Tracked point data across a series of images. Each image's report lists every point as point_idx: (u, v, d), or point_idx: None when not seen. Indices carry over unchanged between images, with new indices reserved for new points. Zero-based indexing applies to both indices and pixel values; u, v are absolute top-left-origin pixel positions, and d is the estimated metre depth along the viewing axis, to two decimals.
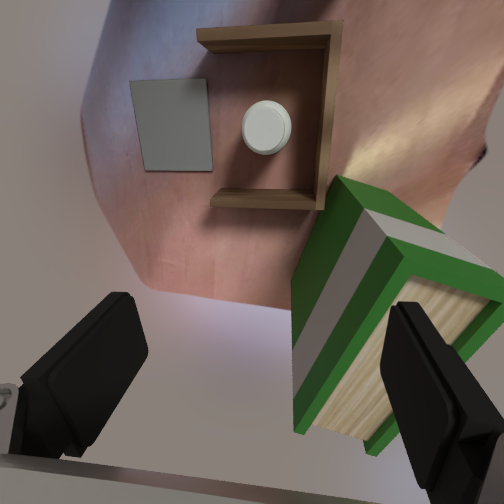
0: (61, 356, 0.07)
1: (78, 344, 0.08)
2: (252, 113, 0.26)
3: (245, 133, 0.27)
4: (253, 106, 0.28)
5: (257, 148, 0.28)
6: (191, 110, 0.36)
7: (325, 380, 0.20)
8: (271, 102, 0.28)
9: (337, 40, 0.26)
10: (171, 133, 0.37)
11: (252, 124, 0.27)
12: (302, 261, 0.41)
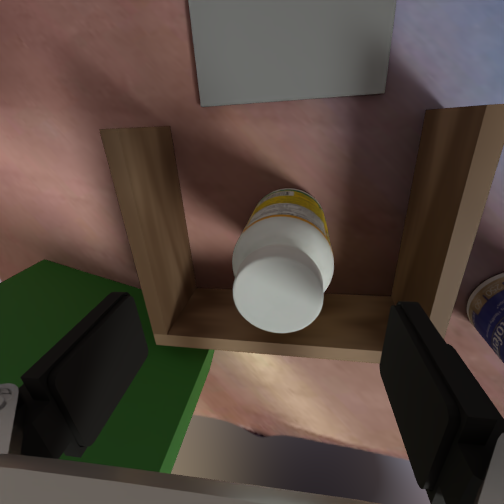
0: (61, 356, 0.07)
1: (78, 344, 0.08)
2: (311, 277, 0.11)
3: (268, 260, 0.11)
4: (324, 248, 0.13)
5: (237, 284, 0.12)
6: (324, 52, 0.15)
7: None
8: (329, 281, 0.14)
9: None
10: None
11: (289, 277, 0.11)
12: (77, 286, 0.24)
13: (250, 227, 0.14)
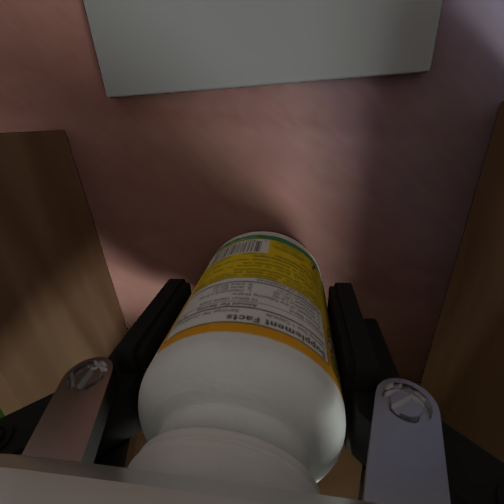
0: (144, 332, 0.08)
1: (155, 323, 0.08)
2: None
3: None
4: (327, 408, 0.06)
5: None
6: None
7: None
8: (336, 458, 0.07)
9: None
10: None
11: None
12: None
13: (167, 351, 0.06)
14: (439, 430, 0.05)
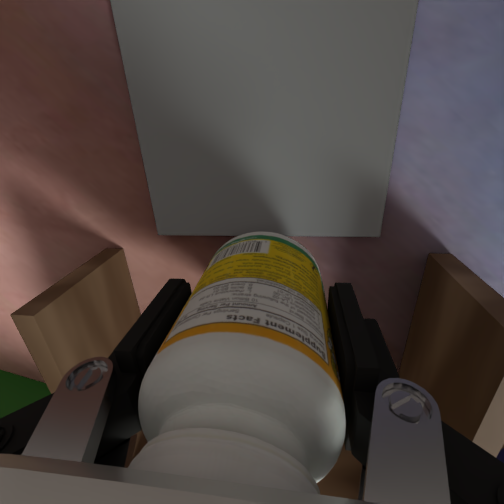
0: (144, 332, 0.08)
1: (155, 323, 0.08)
2: None
3: None
4: (327, 408, 0.06)
5: None
6: (306, 190, 0.12)
7: None
8: (336, 459, 0.07)
9: None
10: (244, 116, 0.12)
11: None
12: (22, 407, 0.20)
13: (167, 352, 0.06)
14: (439, 430, 0.05)
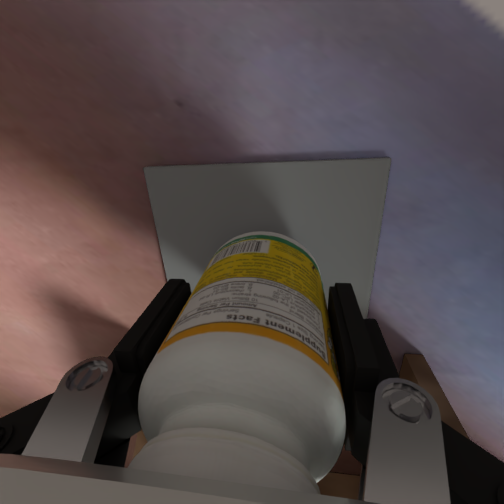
0: (144, 332, 0.08)
1: (155, 323, 0.08)
2: None
3: None
4: (327, 408, 0.06)
5: None
6: None
7: None
8: (336, 458, 0.07)
9: None
10: None
11: None
12: None
13: (167, 351, 0.06)
14: (439, 430, 0.05)
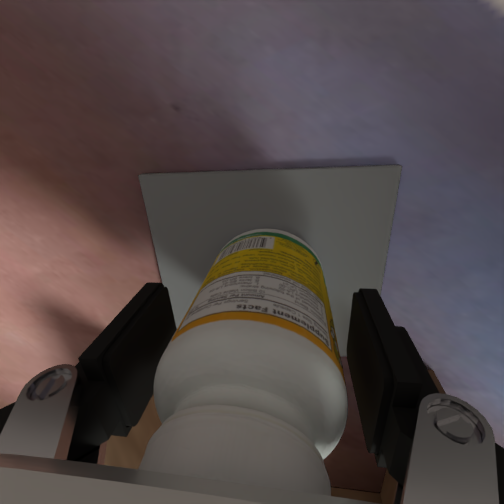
0: (112, 339, 0.08)
1: (125, 329, 0.08)
2: None
3: None
4: (331, 390, 0.06)
5: None
6: None
7: None
8: (339, 438, 0.07)
9: None
10: None
11: None
12: None
13: (181, 338, 0.07)
14: (492, 456, 0.05)
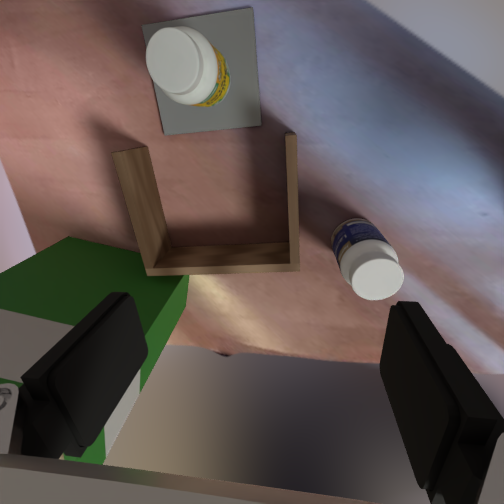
0: (61, 356, 0.07)
1: (78, 344, 0.08)
2: (188, 40, 0.19)
3: (162, 31, 0.19)
4: (206, 43, 0.21)
5: (147, 54, 0.20)
6: (227, 106, 0.29)
7: None
8: (213, 71, 0.22)
9: (286, 268, 0.31)
10: None
11: (176, 42, 0.19)
12: (93, 250, 0.37)
13: None
14: None
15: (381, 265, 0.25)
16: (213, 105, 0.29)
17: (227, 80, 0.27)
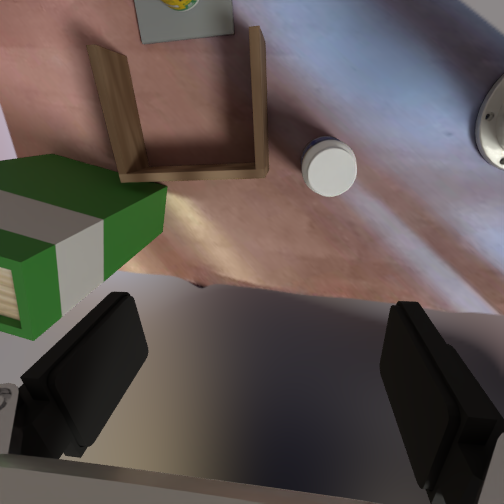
0: (61, 356, 0.07)
1: (78, 344, 0.08)
2: None
3: None
4: None
5: None
6: (201, 12, 0.30)
7: None
8: None
9: (251, 174, 0.32)
10: None
11: None
12: (74, 164, 0.38)
13: None
14: None
15: (334, 155, 0.26)
16: (187, 8, 0.30)
17: None
